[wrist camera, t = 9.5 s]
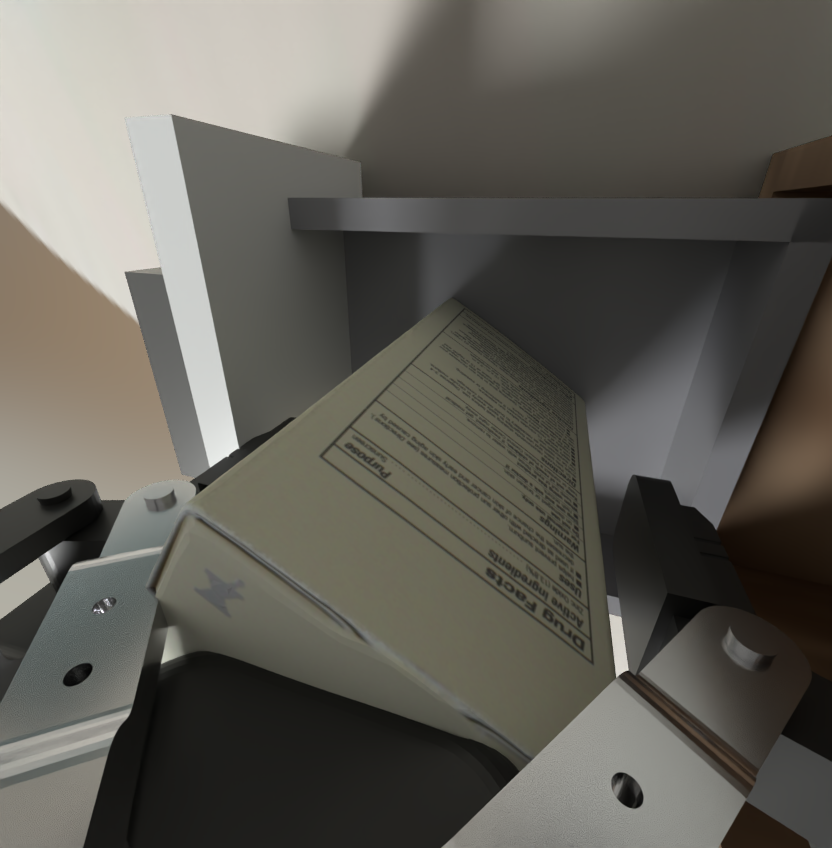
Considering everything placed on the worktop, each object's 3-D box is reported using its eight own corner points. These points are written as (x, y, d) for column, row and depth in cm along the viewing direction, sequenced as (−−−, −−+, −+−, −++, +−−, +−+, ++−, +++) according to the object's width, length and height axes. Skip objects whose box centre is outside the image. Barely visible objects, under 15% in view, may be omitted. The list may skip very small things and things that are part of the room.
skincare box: (390, 381, 17) (93, 645, 6) (453, 291, 15) (150, 478, 4) (515, 480, 17) (420, 901, 7) (597, 407, 15) (653, 874, 4)
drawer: (221, 165, 17) (-36, 128, 10) (778, 151, 12) (1104, 49, 5) (273, 475, 24) (142, 589, 17) (643, 557, 18) (687, 776, 11)
